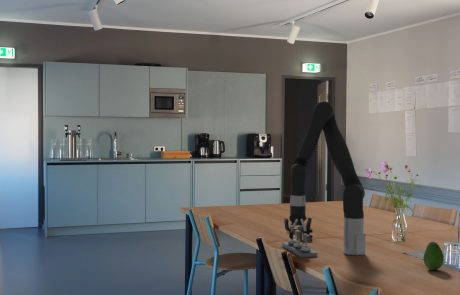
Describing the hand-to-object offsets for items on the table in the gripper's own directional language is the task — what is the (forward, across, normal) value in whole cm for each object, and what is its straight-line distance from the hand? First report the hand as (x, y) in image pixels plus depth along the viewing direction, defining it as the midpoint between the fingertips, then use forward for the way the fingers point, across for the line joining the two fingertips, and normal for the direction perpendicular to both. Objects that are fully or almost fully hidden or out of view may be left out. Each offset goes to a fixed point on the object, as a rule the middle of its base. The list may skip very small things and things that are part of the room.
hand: (297, 238), depth 270 cm
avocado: (+6, +42, -49) cm, 65 cm away
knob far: (+3, 0, +7) cm, 8 cm away
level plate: (+6, 0, -2) cm, 6 cm away
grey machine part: (+6, +14, +27) cm, 31 cm away
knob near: (+3, 0, -11) cm, 12 cm away
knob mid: (+3, 0, -2) cm, 4 cm away
